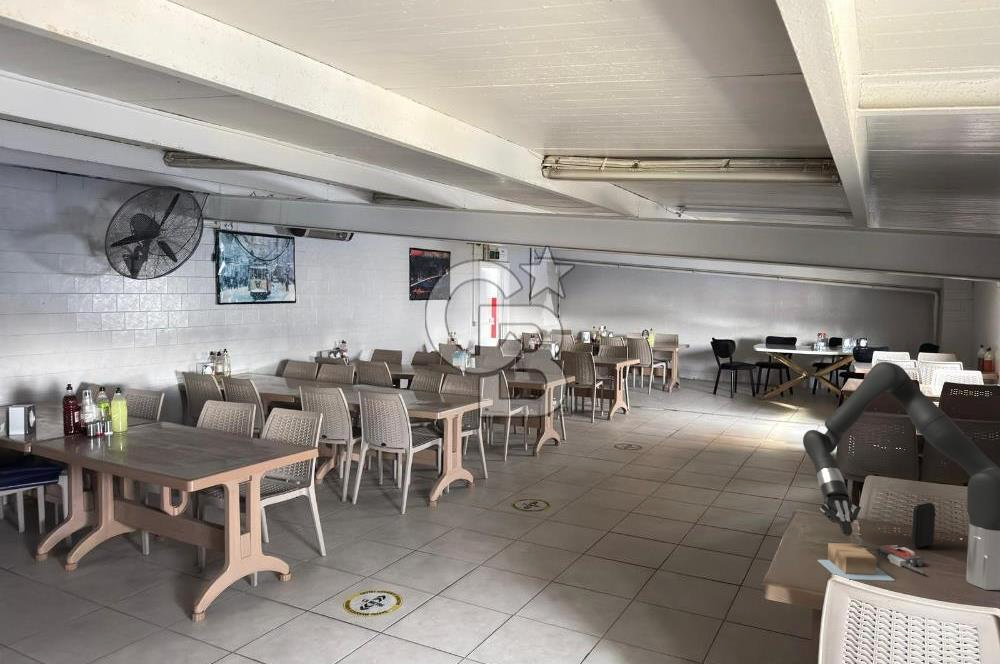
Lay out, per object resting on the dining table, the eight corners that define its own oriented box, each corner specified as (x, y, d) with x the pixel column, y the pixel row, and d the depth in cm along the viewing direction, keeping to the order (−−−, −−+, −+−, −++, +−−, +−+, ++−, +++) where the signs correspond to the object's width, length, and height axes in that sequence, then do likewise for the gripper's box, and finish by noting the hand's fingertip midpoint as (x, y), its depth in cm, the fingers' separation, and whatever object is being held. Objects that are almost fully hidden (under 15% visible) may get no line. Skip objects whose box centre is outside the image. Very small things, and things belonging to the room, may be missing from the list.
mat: (894, 581, 206) (894, 580, 206) (839, 579, 206) (839, 578, 206) (869, 562, 221) (869, 561, 221) (817, 560, 221) (817, 559, 221)
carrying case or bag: (928, 543, 240) (930, 500, 239) (937, 545, 237) (939, 502, 237) (909, 547, 235) (911, 504, 234) (918, 550, 232) (920, 506, 232)
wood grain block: (856, 559, 222) (876, 574, 210) (827, 559, 222) (845, 573, 210) (857, 543, 221) (876, 557, 209) (828, 543, 222) (846, 557, 210)
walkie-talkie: (869, 554, 229) (921, 578, 210) (870, 541, 229) (922, 563, 209) (891, 552, 231) (944, 575, 212) (892, 539, 231) (945, 561, 212)
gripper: (815, 478, 227) (830, 528, 216) (857, 479, 227) (874, 529, 215) (808, 490, 233) (822, 539, 221) (848, 491, 232) (865, 540, 221)
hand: (848, 534), depth 218 cm, fingers closed
